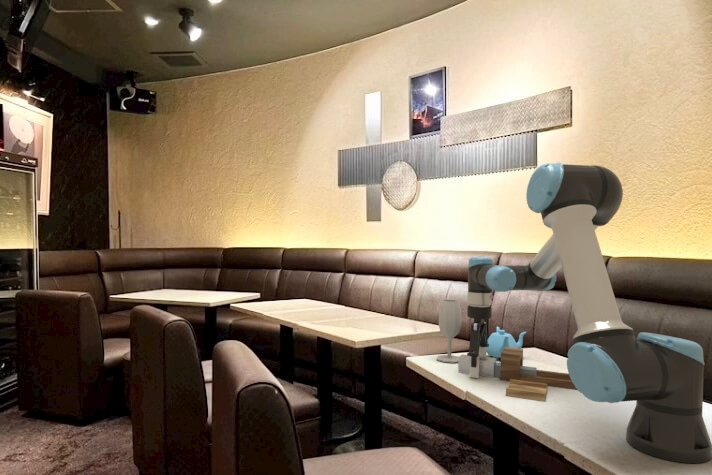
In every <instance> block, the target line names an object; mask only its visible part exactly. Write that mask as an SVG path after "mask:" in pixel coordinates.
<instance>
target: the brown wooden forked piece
mask: <svg viewBox="0 0 712 475" xmlns="http://www.w3.org/2000/svg"><path fill="white" fill-rule="evenodd" d="M500 363H501V370H500V377H499V380H501V381H507V382H508V381H509V382H510V379H514V380H522V381H529V382H537V383H545V384H547V387H552V388H553V387H556V388H562V389H570V390H577V391H578V389H577V388H576V387H575V385H574V384H573V382H572V380H571V378H570V375H569V373H567V372H558V371H557V372H556V371H550V370H543V369H537V373H536V376H531V375H524V374H520V366H524V348H521V349H519V348H510V347H505V348H504V350H503V351H502V352H501V358H500Z"/></svg>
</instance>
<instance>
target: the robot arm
mask: <svg viewBox="0 0 712 475" xmlns="http://www.w3.org/2000/svg"><path fill="white" fill-rule="evenodd" d="M623 196H624V189H623V185H622V183H621V181H620V179H619V177H618V176H617V174H616V173H614V172H613V171H612V170H611V169H609V168H606V167H605V166H602V165H588V164H587V165H586V164H565V163H564V164H563V163H560V162H556V163H543V164H541V165H540V166H538V167H537V168H536V169H535V170H534V171H533V173H532V174H531V176H530V178H529V181H528V184H527V188H526V197H525V198H526V204H527V206H528V208H529V209H530V211H532V212H533V213H535V214H541V219H542V223H543V225H544V226H545V227H547V228H549V229H551V231H552V235H551V236H550V237H549V238H548V240H547V241H546V242H544V245H542V247H541V248H540V249H539V251H538V252H537V253H536V255H535V256H534V257H533V258H532V259H531V261H530V262H529V263H528V264H526V265H508V264H507V265H505V264H504V265H503V264H502V265H501V264H500V265H499V264H494V261H493V258H492V257H488V256H487V257H485V256H471V257H470V258H469V260H468V268H467V304H468V305H467V309H466V310H467V311H466V313H467V317H468V318H470V319H473V322H471V324H470V326H471V327H470V338H469V347H468V352H466V355H467V356H470V371H469V374H468V375H469V378H474V379H479V378H480V377H479V376H480V375H479V356H481V357H487V352H486V348H487V347H489V344H487V343H488V327H487V321H488V320H489V319H491V318H492V316H493V315H492V314H493V311H492V310H493V308H492V306H491V305H492V303H493V302H492V301H493V300H492V299H495V296H494V295H493V291H495V292H496V293H497V292H498V293H500V292H503V293H506V292H510V291H538V292H539V291H541V292H542V291H547V290H548V291H549V290H551V289H553V288H554V287H555V285H556V282H557V273H558V271H559V270H560V269H561V268H562V272H563V276H564V280H565V283H566V287H567V288H566V289H567V292H568V295H569V299H570V302H571V307H572V310H573V311H572V312H573V315H574V318H575V323H576V326H577V331H576V333H575V334H574V335H573V336H572V340H573V345H572V346H571V347H570V348H569V349H568V352H567V359H566V367H567V372H568V373H567V374H569V375H570V378H571V380H572V382H573V384H574V385H575V387H576V388H577V389H578V390H577V391H578V392H579V393H580V394H582V395H583V396H584V397H585V398H586V399H588V400H590V401H593V402H596V403H610V404H615V403H620V402H635V401H636V403H635V407H634V410H633V412H632V413H631V414H632V415H631V417H630V419H629V422H628V423H627V426H626V433H625V434H626V435H625V438H626V442H627V443H628V444H629V445H630V446H631V447H633V448H635V449H636V450H638V451H640V452H643V453H645V454H647V455H650V456H652V457H655V458H659V459H662V460H667V461H672V462H676V463H677V462H678V463H688V464H701V463H707V462H709V461H711V459H712V441H711V437H710V435H709V432H708V429H707V427H706V426H707V425H706V424H705V420H704V417H703V401H704V400H703V399H704V372H705V371H704V370H705V361H704V360H705V359H704V350H703V347H702V346H701V345H700V344H699V343H697V342H695V341H692V340H689V339H684V338H681V337H676V336H675V337H674V336H672V335H671V336H670V335H665V334H658V333H653V332H644V331H643V332H641V331H640V332H639V333H638V334H637V337H636V335H635V332H634V328H633V327H630V326H629V325H628V324H626V323H624V322H623V320H622V317H621V314H620V311H619V307H618V304H617V300H616V297H615V294H614V291H613V290H614V289H613V287H612V284H611V280H610V276H609V274H608V273H609V272H608V270H607V267H606V263H605V261H604V257H603V254H602V250H601V247H600V243H599V241H598V237H597V233H596V231H597V229H598V228H599V227H604V226H606V225H607V224H608V223H609V222H610V221H611V220H612V219H613V218H614V216H615V215H616V214H617V212H618V211H619V209H620V207H621V205H622V202H623Z"/></svg>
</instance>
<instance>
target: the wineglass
mask: <svg viewBox="0 0 712 475" xmlns="http://www.w3.org/2000/svg"><path fill="white" fill-rule="evenodd" d="M461 310H462V309H461V304H460V301H459V300H458V299H453V298H452V299H451V298H447V299H445V298H444V299H442V300H441V304H440V307H439V313H438V328H439V332H440V334H442V335H443V336H444V337H445V338H446V339H447V354H441V355H437V358H436V360H437V361H439V362H442V363H449V364H450V363H451V364H452V363H453V364H458V360H459V357H460V356H458V355H453V354H452V340H453V339H454V338H455V337H457V335H458V334H460V330H461V326H462V311H461Z"/></svg>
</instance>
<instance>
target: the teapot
mask: <svg viewBox="0 0 712 475" xmlns="http://www.w3.org/2000/svg"><path fill="white" fill-rule="evenodd" d="M526 333H527V331H523V332H521V333H520V334H519V337H518V341H517V342H516V339H515V337H514V336H513V335H512V334H511V333H507V332H506V331H505V329H500V326H496V332H492V333H491V334H490V335H489V337H487V340H488V343H487V344H489V347H487V348H486V354H487V356H488V355H489V357H491V356H492V357H491V358H496V361H499V359H501V352H502V351H503V350H504V348H505V347H510V348H519V349H522V347H523V342H524V340H523V339H524V335H525V334H526Z"/></svg>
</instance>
